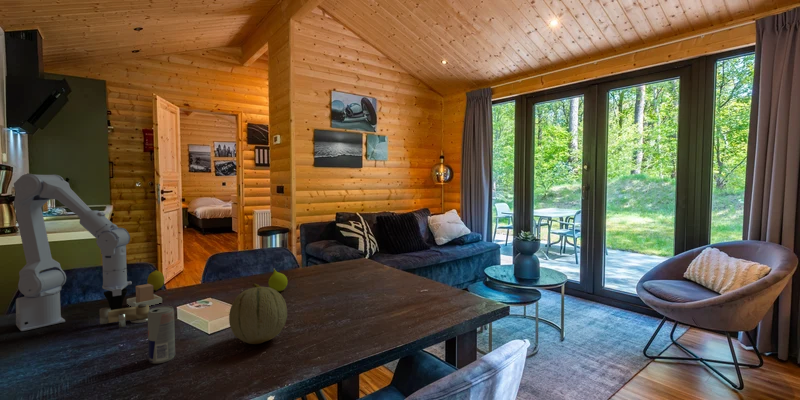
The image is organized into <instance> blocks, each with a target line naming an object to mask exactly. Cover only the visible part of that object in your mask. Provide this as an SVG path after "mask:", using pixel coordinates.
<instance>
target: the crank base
mask: <svg viewBox="0 0 800 400" xmlns="http://www.w3.org/2000/svg"><path fill="white" fill-rule="evenodd" d="M126 322H127V320H126V314H125V313H122V314H119V321H118V327H119V329H120V328H124V327H126V326H127V325H126V324H127V323H126ZM146 322H147V323H148V317H147V318H144V319H132V320H130V323H131V324H142V323H146Z"/></svg>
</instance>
